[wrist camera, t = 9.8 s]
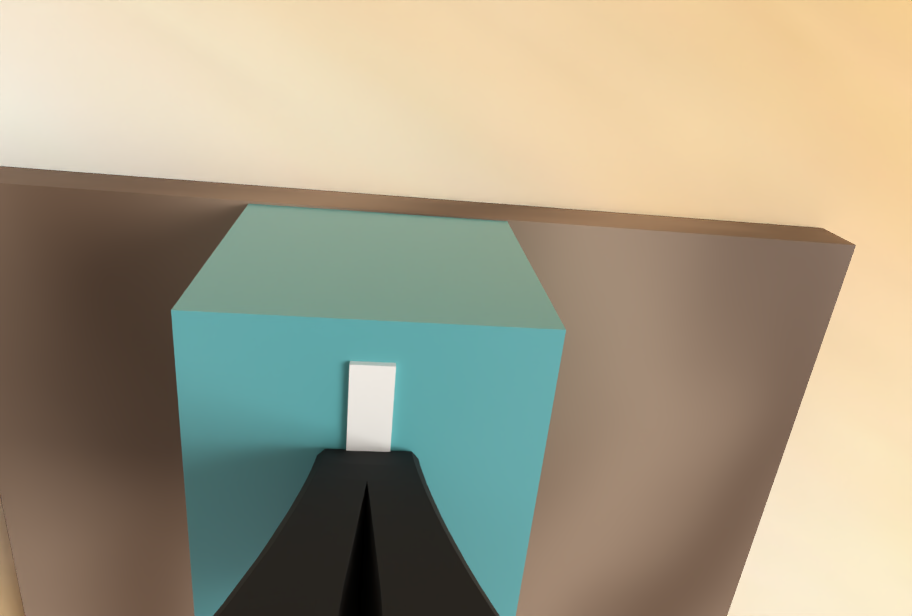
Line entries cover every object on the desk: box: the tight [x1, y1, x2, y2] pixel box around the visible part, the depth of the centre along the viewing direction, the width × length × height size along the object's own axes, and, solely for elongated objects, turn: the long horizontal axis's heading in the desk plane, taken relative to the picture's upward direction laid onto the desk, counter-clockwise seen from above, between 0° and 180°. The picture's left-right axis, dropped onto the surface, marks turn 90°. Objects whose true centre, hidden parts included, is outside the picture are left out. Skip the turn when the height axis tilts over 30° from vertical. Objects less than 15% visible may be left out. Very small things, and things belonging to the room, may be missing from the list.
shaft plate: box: [0, 167, 856, 616], centre depth 16 cm, size 18×16×4 cm
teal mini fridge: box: [171, 204, 566, 616], centre depth 12 cm, size 5×6×5 cm
